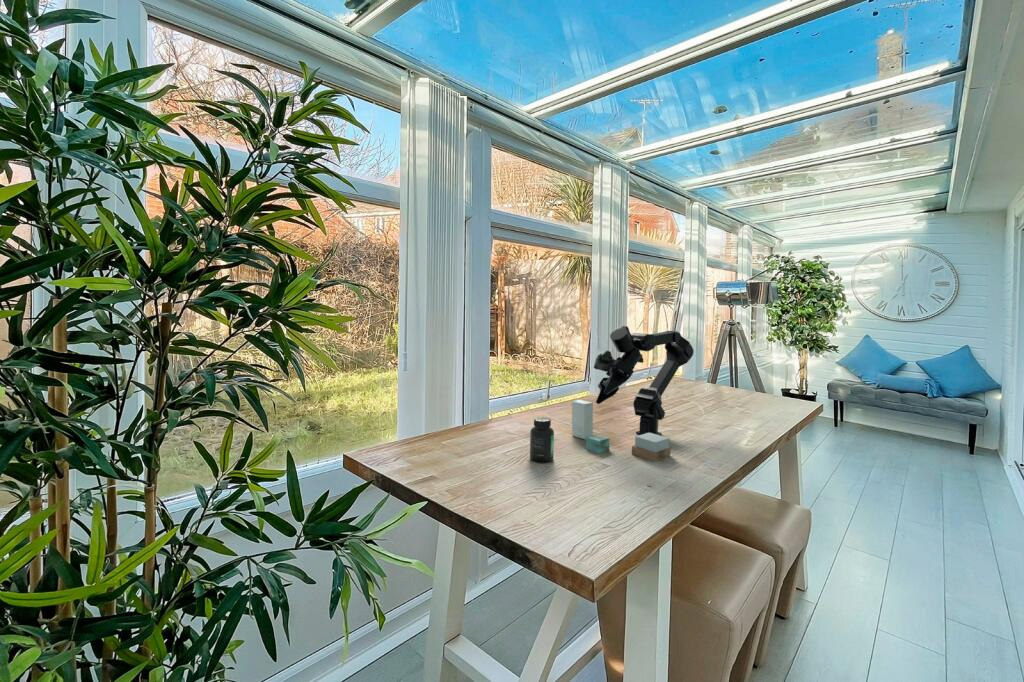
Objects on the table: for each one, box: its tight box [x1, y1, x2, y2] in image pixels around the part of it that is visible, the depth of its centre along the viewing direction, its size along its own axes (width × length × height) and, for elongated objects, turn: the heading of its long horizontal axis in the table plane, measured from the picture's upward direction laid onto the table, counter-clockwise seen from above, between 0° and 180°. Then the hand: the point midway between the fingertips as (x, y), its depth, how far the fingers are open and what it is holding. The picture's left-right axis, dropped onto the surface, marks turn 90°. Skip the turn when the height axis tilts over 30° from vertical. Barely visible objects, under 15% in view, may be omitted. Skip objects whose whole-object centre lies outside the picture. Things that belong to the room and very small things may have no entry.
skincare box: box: [571, 399, 594, 440], centre depth 155 cm, size 6×4×12 cm
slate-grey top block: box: [634, 433, 670, 452], centre depth 137 cm, size 7×7×3 cm
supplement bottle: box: [529, 416, 555, 464], centre depth 132 cm, size 7×7×12 cm
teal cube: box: [585, 433, 611, 454], centre depth 142 cm, size 5×5×4 cm
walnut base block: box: [631, 444, 671, 463], centre depth 138 cm, size 8×8×3 cm
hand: (601, 398), depth 141 cm, fingers open, 9 cm apart
